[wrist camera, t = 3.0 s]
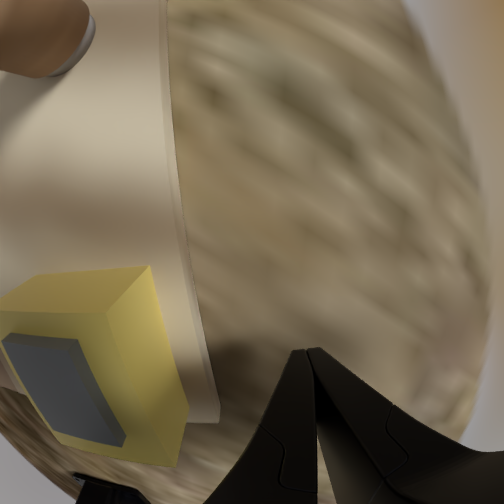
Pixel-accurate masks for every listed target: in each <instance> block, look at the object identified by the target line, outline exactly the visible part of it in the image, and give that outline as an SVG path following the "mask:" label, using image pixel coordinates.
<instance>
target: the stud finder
mask: <svg viewBox="0 0 504 504" xmlns="http://www.w3.org/2000/svg"><path fill="white" fill-rule="evenodd" d="M0 348H1V350H2V352H3V354H4V356H5V358H6V360H7V362H8V364H9V366H10V368H11V369H12V371H13V373H14V375H15V377H16V379H17V380H18V382H19V384H20V385H21V387H22V389H23V391H24V392H25V394H26V395H27V397H28V399H29V400H30V402H31V403H32V405H33V406H34V408H35V409H36V411H37V412H38V414H39V415H40V417H41V418H42V420H43V421H44V423H45V424H46V425H47V427H48V428H49V429H50V431H51V432H52V433H53V435H54V436H55V437H56V439H57V440H58V441H59V443H60V444H63V445H66V446H70V447H73V448H76V449H80V450H83V451H87V452H91V453H94V454H98V455H103V456H107V457H111V458H116V459H121V460H126V461H131V462H137V463H143V464H149V465H156V466H164V467H173V468H176V464H177V460H178V456H179V451H180V447H181V443H182V438H183V434H184V430H185V425H186V421H187V417H188V413H189V409H190V407H189V404H188V401H187V399H186V396H185V393H184V390H183V387H182V384H181V381H180V377H179V374H178V371H177V368H176V365H175V361H174V358H173V355H172V351H171V348H170V344H169V341H168V337H167V334H166V330H165V326H164V323H163V319H162V315H161V311H160V307H159V303H158V299H157V295H156V290H155V286H154V281H153V277H152V272H151V268H150V265H147V266H135V267H124V268H112V269H100V270H88V271H76V272H64V273H52V274H40V275H35V276H33V277H32V278H30V279H28V280H27V281H25V282H24V283H22V284H21V285H19V286H18V287H16V288H15V289H13V290H12V291H10V292H9V293H7V294H6V295H4V296H3V297H1V298H0Z"/></svg>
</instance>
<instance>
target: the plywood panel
mask: <svg viewBox="0 0 504 504" xmlns="http://www.w3.org/2000/svg"><path fill="white" fill-rule="evenodd" d="M82 1H84V2H85V3H86V4H87V6H88V8H89V12H90V15H91V16H92V17H93V18H94V20H95V24H96V30H95V35H94V38H93V41H92V43H91V45H90V47H89V49H88V51H87V52H86V54H85V55H84V56H83V57H82V59H81V60H80V61H79V62H78V63H77V64H76V65H75V66H74V67H73V68H71V69H70V70H69V71H67V72H66V73H64V74H62V75H59V76H56V77H47V76H45V77H42V78H36V79H34V78H29V77H25V76H21V75H17V74H13V73H9V72H5V71H0V298H1V297H3V296H4V295H6V294H7V293H9V292H10V291H12V290H13V289H15V288H16V287H18V286H19V285H21V284H22V283H24V282H25V281H27V280H28V279H30V278H32V277H33V276H35V275H40V274H52V273H64V272H76V271H88V270H100V269H112V268H124V267H135V266H147V265H150V268H151V272H152V277H153V281H154V286H155V290H156V295H157V299H158V303H159V307H160V311H161V315H162V319H163V323H164V326H165V330H166V334H167V337H168V341H169V344H170V348H171V351H172V355H173V358H174V361H175V365H176V368H177V371H178V374H179V377H180V381H181V384H182V387H183V390H184V393H185V396H186V399H187V401H188V404H189V407H190V409H189V413H188V417H187V421H186V423H219V418H220V410H221V405H220V401H219V397H218V393H217V389H216V385H215V381H214V376H213V372H212V368H211V364H210V359H209V355H208V350H207V346H206V341H205V336H204V332H203V327H202V322H201V317H200V312H199V307H198V302H197V296H196V291H195V285H194V280H193V274H192V269H191V263H190V257H189V251H188V244H187V238H186V231H185V225H184V218H183V211H182V204H181V196H180V188H179V180H178V172H177V163H176V154H175V145H174V134H173V123H172V111H171V98H170V83H169V65H168V39H167V0H82ZM0 386H2V387H5V388H7V389H10V390H13V391H16V392H19V393H20V394H24V395H26V394H25V392H24V391H23V389H22V387H21V385H20V384H19V382H18V380H17V379H16V377H15V375H14V373H13V371H12V369H11V368H10V366H9V364H8V362H7V360H6V358H5V356H4V354H3V352H2V350H1V348H0Z"/></svg>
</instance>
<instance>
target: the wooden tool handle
mask: <svg viewBox="0 0 504 504" xmlns="http://www.w3.org/2000/svg"><path fill="white" fill-rule="evenodd" d="M95 30H96V24H95V20H94V18H93V17H92V16H91V15H90V12H89V8H88V6H87V4H86V3H85V2H84V1H82V0H0V71H5V72H9V73H13V74H17V75H21V76H25V77H29V78H34V79H36V78H42V77H45V76H47V77H56V76H59V75H62V74H64V73H66V72H67V71H69V70H70V69H71V68H73V67H74V66H75V65H76V64H77V63H78V62H79V61H80V60H81V59H82V57H83V56H84V55H85V54H86V52H87V51H88V49H89V47H90V45H91V43H92V41H93V38H94V35H95Z"/></svg>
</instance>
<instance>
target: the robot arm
mask: <svg viewBox="0 0 504 504" xmlns="http://www.w3.org/2000/svg"><path fill="white" fill-rule="evenodd" d="M392 405H393V403H392V402H390V401H389V400H388V399H386V398H385V397H384V396H382V395H381V394H380V393H378V392H377V391H376V390H375V389H373V388H372V387H371V386H369V385H368V384H367V383H365V382H364V381H363V380H361V379H360V378H359V377H358V376H356V375H355V374H354V373H352V372H351V371H350V370H348V369H347V368H346V367H345V366H343V365H342V364H341V363H339V362H338V361H337V360H336V359H334V358H333V357H332V356H331V355H329V354H328V353H327V352H325V351H324V350H323V349H322V348H320V347H316V348H308V349H307V350H305V349H299V350H293V351H291V353H290V356H289V358H288V360H287V363H286V365H285V367H284V370H283V372H282V374H281V377H280V379H279V381H278V383H277V386H276V388H275V390H274V392H273V395H272V397H271V399H270V401H269V403H268V405H267V408H266V410H265V412H264V414H263V416H262V418H261V420H260V422H259V425H258V427H257V428H256V430H255V432H254V434H253V436H252V438H251V440H250V442H249V444H248V445H247V447H246V449H245V451H244V452H243V454H242V455H241V456H240V458H239V459H238V461H237V462H236V464H235V465H234V466H233V468H232V469H231V470H230V472H229V473H228V474H227V475H226V477H225V478H224V479H223V480H222V482H221V483H220V484H219V485H218V487H217V488H216V489H215V490H214V492H213V493H212V494H211V495H210V496H209V498H208V499H207V500H206V501H205V502H204V503H203V504H317V493H318V469H317V436H318V439H319V443H320V446H321V450H322V453H323V457H324V460H325V464H326V467H327V471H328V474H329V478H330V481H331V485H332V488H333V492H334V495H335V499H336V503H337V504H504V451H496V452H481V451H476V450H473V449H470V448H468V447H465V446H463V445H461V444H459V443H458V442H456V441H454V440H452V439H450V438H448V437H446V436H444V435H442V434H440V433H438V432H437V431H435V430H433V429H431V428H429V427H428V426H426V425H424V424H422V423H421V422H419V421H417V420H416V419H414V418H413V417H411V416H410V415H409V414H407V413H406V412H404V411H403V410H401V409H400V408H399V407H397V406H396V405H393V406H392ZM72 477H73V479H74V480H75V481H76V482H77V483H78V484H80V485H81V486H82V489H81V491H80V494H79V496H78V498H77V501H76V503H75V504H150V503H149V502H148V501H147V500H146V499H145V498H144V496H143V495H142V494H141V493H140V492H138V491H136V490H134V489H130V488H125V487H121V486H117V485H113V484H109V483H105V482H102V481H98V480H95V479H91V478H88V477H85V476H82V475H79V474H76V473H74V474H73V476H72Z"/></svg>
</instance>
